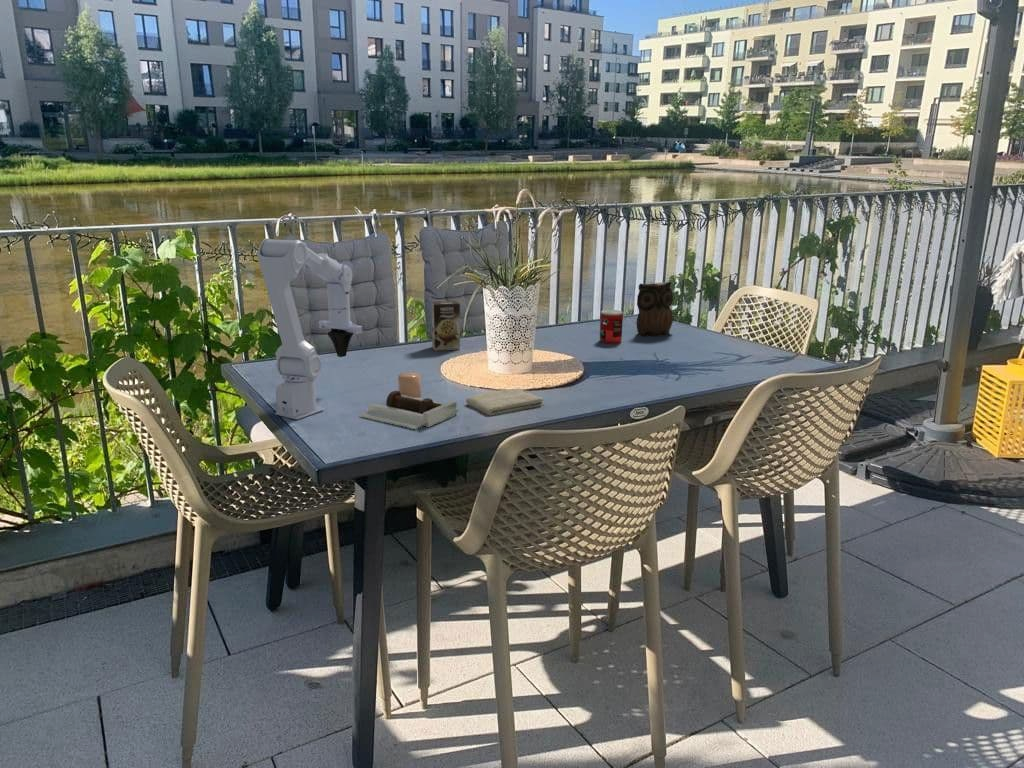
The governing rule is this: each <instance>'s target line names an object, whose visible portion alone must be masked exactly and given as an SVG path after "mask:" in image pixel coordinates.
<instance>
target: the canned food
mask: <svg viewBox="0 0 1024 768" xmlns="http://www.w3.org/2000/svg"><path fill="white" fill-rule="evenodd" d="M599 317H600V318H599V320H600V322H599V324H600V325H599V341H600V342H601V343H604V344H609V345H610V344H611V345H612V344H620V343H621V342H622V337H623V336H622V335H623V319H624V312H623V311H622V310H617V309H603V310H601V311H600V316H599Z"/></svg>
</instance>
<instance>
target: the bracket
mask: <svg viewBox="0 0 1024 768" xmlns="http://www.w3.org/2000/svg"><path fill="white" fill-rule="evenodd" d="M401 396H402V397H406V398H411V399H416V400H423V399H424V398H421V397H420V398H417V397H412V396H407V395H402V394H401ZM432 401H433V402H434V403H437V404H442V405H441V406H439V407H436V408H434V409H431V410H429V411H427V412H424V413H423V414H420V413H418V412H413V411H409V410H403V409H397V408H393V407H388V406H387V405H383V404H378V403H375V402H371V403H368V404H367V411H366V412H363V413H360V414H359V417H360V418H363V419H367V418H368V420H372V421H377V422H380V423H384V422H385V423H384V424H388V423H389V425H392V424H394V425H393V426H397V425H398V426H397V427H401V426H403V427H402V428H405V427H407V428H406V429H409V428H411V429H410V430H413V429H415V430H414V431H417V430H419V429H421V428H423V427H422V426H426V427H425V428H427V427H429V428H431V427H433V426H435V425H434V424H436V425H438V424H440V423H442V422H444V420H445V421H447V420H449V419H451V418H454V417H456V416H457V413H458V412H460V408H457V401H453V400H451V401H448V402H446V403H444V402H440V401H435V400H432ZM455 415H456V416H455ZM453 416H454V417H453ZM446 419H447V420H446ZM439 422H440V423H439ZM437 423H438V424H437ZM432 425H433V426H432ZM430 426H431V427H430ZM420 427H421V428H420ZM418 428H419V429H418ZM416 429H417V430H416Z"/></svg>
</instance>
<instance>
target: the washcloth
mask: <svg viewBox="0 0 1024 768" xmlns="http://www.w3.org/2000/svg"><path fill="white" fill-rule="evenodd" d="M543 401H544V399H543V397H540V396H538V395H534V394H532V393H531V392H529V391H527V390H525V389H522V388H520V387H519V388H515V389H505V388H501V389H500V390H496V391H495V390H494V391H488V392H483V393H478V394H473V395H471V396H468V397H467V398H466V400H465V402H466V404H467V405H468V406H469V407H472V408H473V409H474V408H475V409H477V410H478V411H479V412H480V413H483V414H485V415H487V416H496V415H499V414H504V413H506V414H507V413H511V412H517V411H521V410H526V409H531V408H537V407H542V406H544V403H543ZM495 414H496V415H495Z"/></svg>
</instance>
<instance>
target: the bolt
mask: <svg viewBox="0 0 1024 768" xmlns="http://www.w3.org/2000/svg"><path fill="white" fill-rule="evenodd" d="M422 399H423V400H416V399H411V398H406V397H402V396H401V394H400V391H399V390H393V391H391V392H389V394H388V395H387V397H386V405H385V406H388V407H393V408H397V409H402V410H406V411H411V412H415V413H420V414H423V413H424V412H427V411H429V410H431V409H434V408H436V407H439V406H441V405H442V404H437V403H434V402H433V401H434V400H433V399H432V398H429V397H427V398H422Z"/></svg>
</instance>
